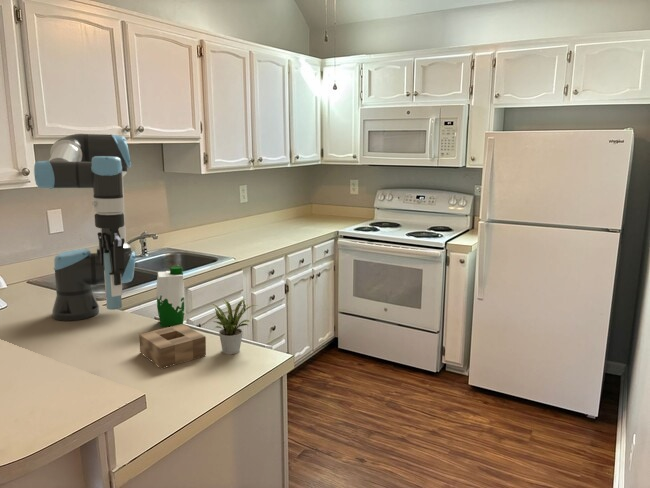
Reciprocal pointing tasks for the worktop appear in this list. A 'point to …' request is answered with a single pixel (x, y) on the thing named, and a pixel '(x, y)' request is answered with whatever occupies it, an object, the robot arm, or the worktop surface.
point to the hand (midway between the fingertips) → (113, 293)
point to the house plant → (231, 328)
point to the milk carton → (170, 297)
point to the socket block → (172, 345)
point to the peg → (111, 301)
